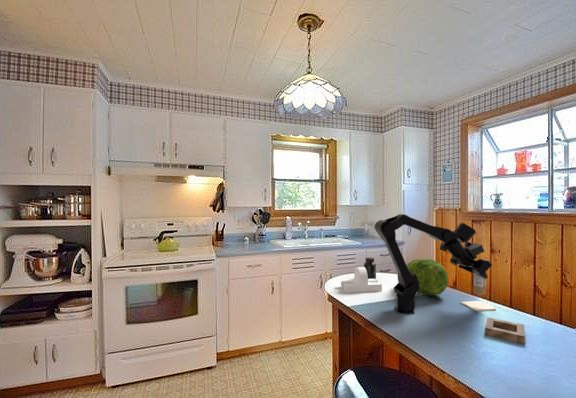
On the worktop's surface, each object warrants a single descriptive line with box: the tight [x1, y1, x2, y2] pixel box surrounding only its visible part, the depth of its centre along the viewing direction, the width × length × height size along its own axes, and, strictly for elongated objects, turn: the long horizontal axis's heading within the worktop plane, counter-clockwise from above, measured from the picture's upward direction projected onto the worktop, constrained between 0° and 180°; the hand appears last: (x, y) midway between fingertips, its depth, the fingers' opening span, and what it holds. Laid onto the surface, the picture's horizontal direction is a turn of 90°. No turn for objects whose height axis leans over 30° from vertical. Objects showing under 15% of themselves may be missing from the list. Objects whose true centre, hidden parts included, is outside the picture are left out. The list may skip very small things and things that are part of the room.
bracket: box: [340, 266, 383, 294], centre depth 150 cm, size 19×10×11 cm, turn 94°
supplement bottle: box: [363, 257, 377, 280], centre depth 168 cm, size 7×7×12 cm
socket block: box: [484, 317, 526, 345], centre depth 100 cm, size 11×11×2 cm
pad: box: [460, 300, 497, 312], centre depth 125 cm, size 9×9×1 cm
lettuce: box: [406, 258, 449, 297], centre depth 143 cm, size 17×23×17 cm
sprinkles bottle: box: [472, 273, 487, 296], centre depth 123 cm, size 5×5×14 cm
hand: (482, 276), depth 123 cm, fingers closed on sprinkles bottle, 4 cm apart
